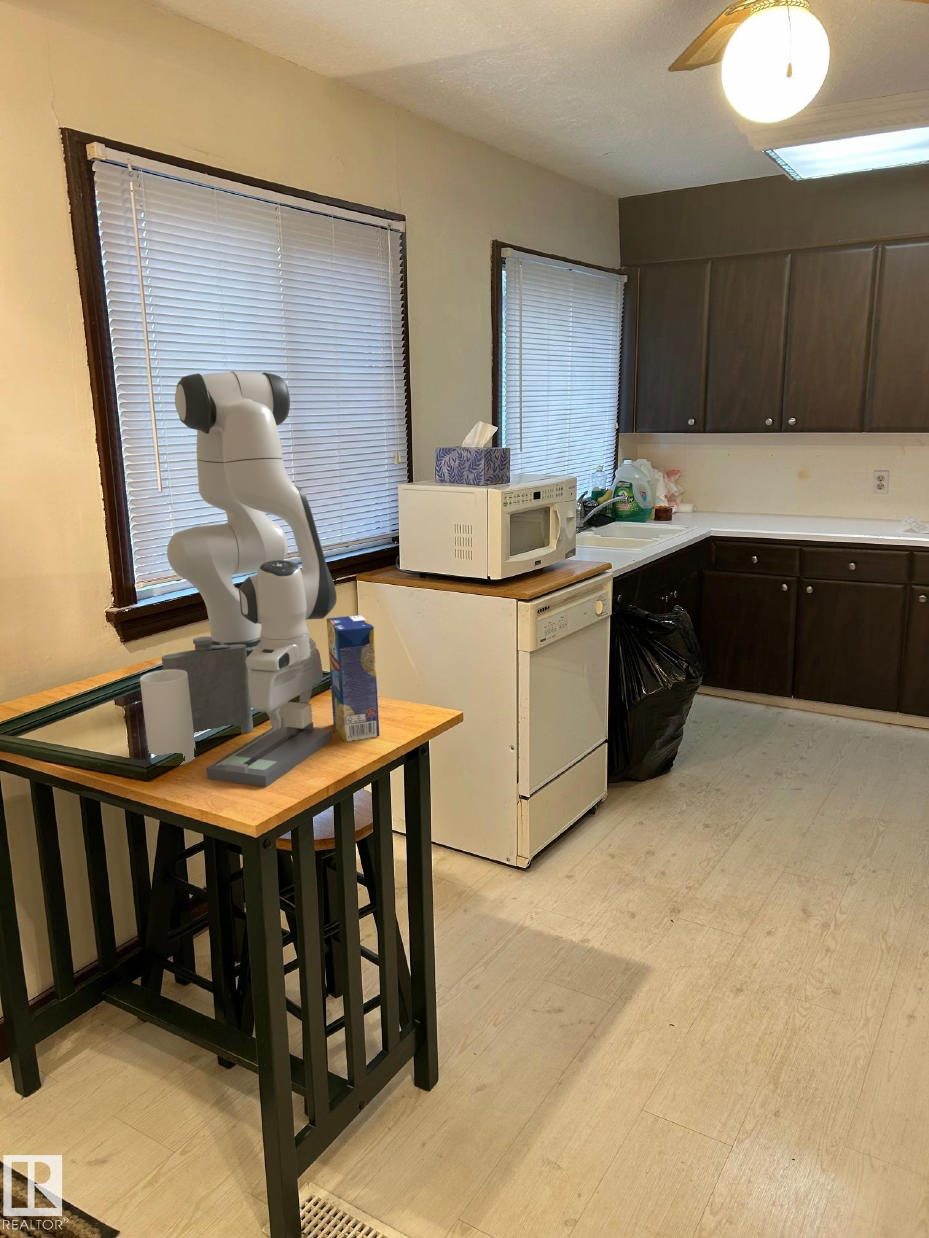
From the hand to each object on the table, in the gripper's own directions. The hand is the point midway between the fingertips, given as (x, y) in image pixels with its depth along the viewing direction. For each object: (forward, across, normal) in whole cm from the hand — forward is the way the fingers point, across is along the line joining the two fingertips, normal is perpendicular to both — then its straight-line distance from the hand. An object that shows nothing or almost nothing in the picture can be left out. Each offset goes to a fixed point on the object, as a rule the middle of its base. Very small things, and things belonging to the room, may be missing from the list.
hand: (291, 719), depth 169 cm
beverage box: (+5, -10, +8) cm, 14 cm away
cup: (+5, +12, -18) cm, 23 cm away
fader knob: (+3, 0, 0) cm, 3 cm away
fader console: (+5, +7, 0) cm, 9 cm away
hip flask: (+5, 0, -18) cm, 19 cm away
